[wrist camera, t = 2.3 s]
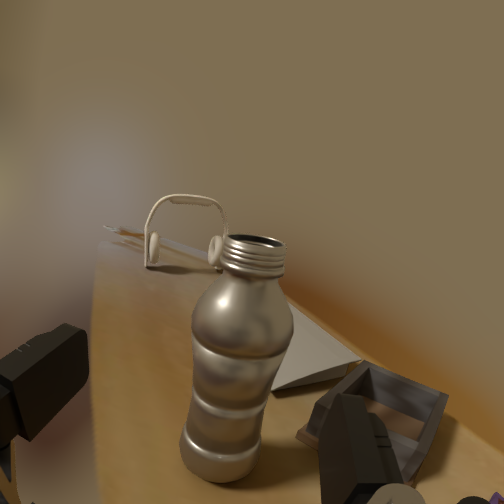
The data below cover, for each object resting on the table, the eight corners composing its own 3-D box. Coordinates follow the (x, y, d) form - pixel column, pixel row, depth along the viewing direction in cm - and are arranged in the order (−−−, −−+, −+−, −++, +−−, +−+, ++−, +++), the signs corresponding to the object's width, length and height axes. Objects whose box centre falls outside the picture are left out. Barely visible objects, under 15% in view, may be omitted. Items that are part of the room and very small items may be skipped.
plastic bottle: (186, 433, 27) (209, 223, 23) (256, 446, 27) (305, 239, 22) (170, 482, 21) (186, 239, 16) (253, 497, 21) (319, 262, 16)
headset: (142, 272, 69) (150, 191, 65) (140, 263, 75) (147, 189, 71) (226, 276, 77) (238, 201, 73) (218, 267, 84) (228, 197, 80)
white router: (286, 317, 61) (290, 298, 60) (366, 384, 40) (375, 361, 40) (208, 320, 54) (211, 298, 53) (271, 408, 34) (278, 381, 33)
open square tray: (436, 426, 31) (453, 394, 29) (405, 494, 21) (430, 460, 20) (350, 388, 39) (361, 356, 37) (295, 437, 29) (307, 401, 28)
